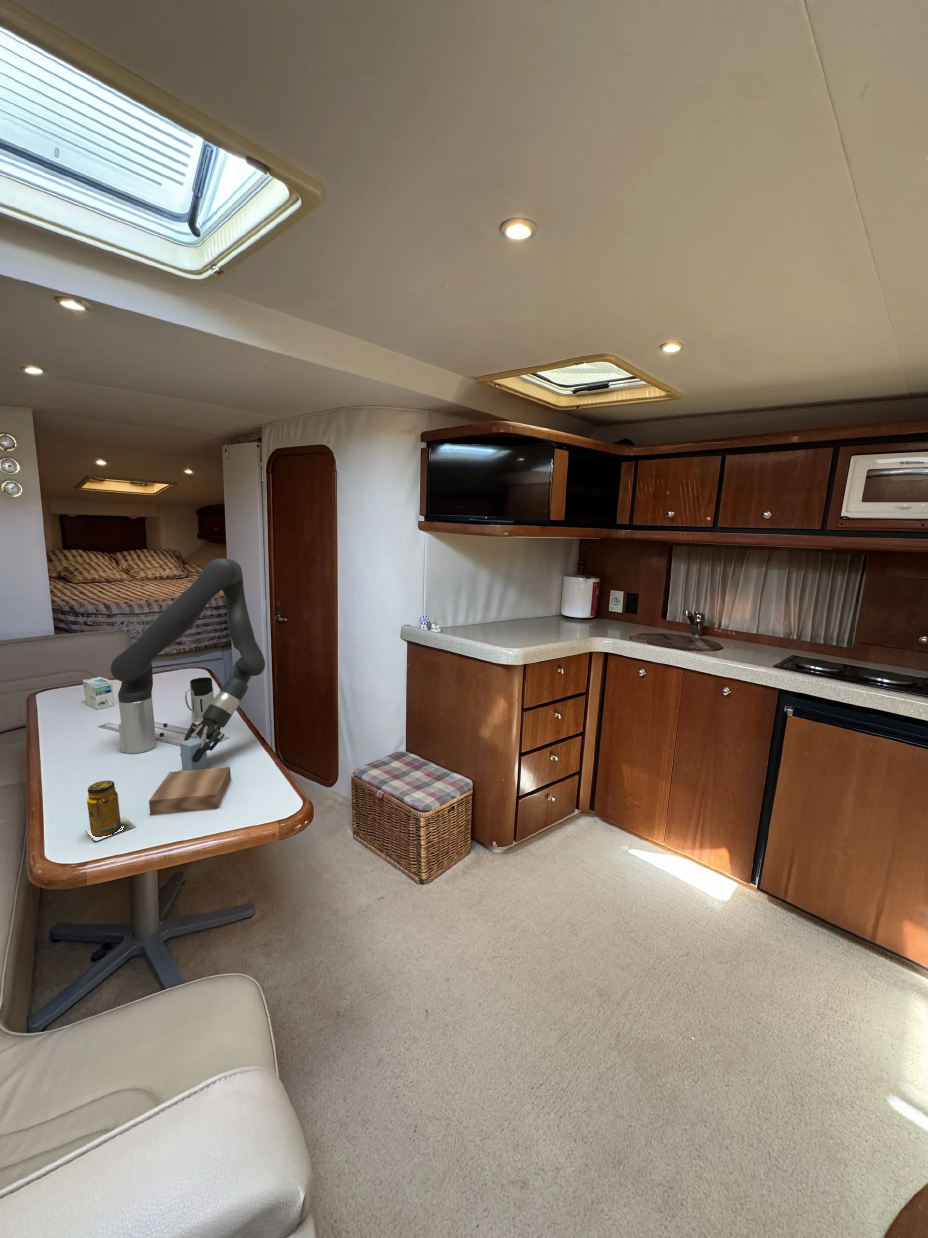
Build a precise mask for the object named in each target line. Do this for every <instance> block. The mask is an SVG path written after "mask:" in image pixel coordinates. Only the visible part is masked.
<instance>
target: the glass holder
mask: <svg viewBox="0 0 928 1238" xmlns="http://www.w3.org/2000/svg"><path fill="white" fill-rule="evenodd" d="M189 686H190V688H188V689H186V691H185V693H184V701H185V704H186V705H185V706H186V707H187V709H188V710H189V711H191V714H192V715H191V721H192V720H193V722H201V721H202V720H203V717H202V715H203V714H204V712H205V711H206V709H207V708H208V706H209V705H210V703H211V702H212V700H213V699H214V697H215V695H214V687H213V679H212V677H207V676H206V677H204V676H203V677H197V678H192V679H190V681H189ZM189 692H190V704H191V706H190V705H189V703H188V693H189Z"/></svg>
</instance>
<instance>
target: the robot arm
mask: <svg viewBox="0 0 928 1238" xmlns="http://www.w3.org/2000/svg"><path fill="white" fill-rule="evenodd" d="M242 570H243V569H242V567H241V565H240V564H239V563H238V562H237V561H235V560H234V559H231V558H222V557H220V558H216V559H213V560H212V561H210V562H209V563H208V564H207V565H206V567H205V568H204V569H203V571H202V572H201V573H200V574H199V575H198V577H196V579H195V580H194V582H193V583H192V584H191V585H190V586H189V587H188V588H186V589H185V590H184V591H183V592H182V593H180V595H179V596H177V598H175V599H174V601H172V602H171V603H170V604H169V605H168V606H167V607H166V608H165V609H164V610H163V611H162V612H161V613H160V614H159V615H158V616H157V617H156V618H155V619H154V621H152V622H151V624H150V625H149V626H148V627H147V628H146V630H145V631H144V632H143V633H142V634H141V636H139V638H138V639H137V640H136V641H135V642H133V643H132V644H131V645H130V646H128V648H126V649H125V650H124V651H122V652H121V653H120V654H118V655H117V656H116V657H115V658H114V659H113V660H112V662H111V664H110V673H111V676H112V677H113V678H114V679H115V680H117V681H120V683H121V684H120V688H119V691H118V693H117V698H118V707H119V717H120V723H119V724H118V733H119V743H120V752H121V753H125V754H140V753H145V752H148V751H151V750H153V749H154V748H156V747H157V736H156V726H155V713H154V705H153V692H152V690H153V686H154V679H153V678H154V677H153V676H154V675H153V674H154V673H153V663H152V661H153V660H154V659H155V658H156V657H157V656H158V655H159V654H160V653H161V652H162V651H164V650H165V649H167V648H168V647H169V646H171V645H172V644H173V643H174V642H176V641H177V640H179V639H180V638H181V637H182V636H183V635H184V634H185V633H187V632H188V630H189V629H190V628H192V626H194V625H195V624H196V623H197V621H198V620H199V619H200V617H201V615H202V614H203V612H204V610H205V608H206V607H207V605H208V604H209V602H210V601H211V600H213V598H214V597H215V596H217V595H218V594H219V593H220V592H221V591H222V592H223V596H224V599H225V605H226V615H227V616H226V617H227V619H226V620H227V627H228V632H229V637H230V639H231V643H232V646H233V647H234V649H235V650H237V651H238V652H239V654H240V657H239V658H238V659H237V661H235V663H234V665H233V666H232V669H231V671H230V672H229V676H228V677H227V681H225V683H224V684H223V686H222V687H221V689H220V690H219V691H218V693H217V694H216V695H214V699H213V700H212V702H211V703H210V705H209V706H208V708H207V709H206V711H205V712H204V714H203V715H202V717H203V720H202V721H199V723H195V722H192V723H191V724H190V727H189V728H188V730H187V732H186V734H185V736H184V738H183V741H186V740H189V739H194V738H200V739H201V742H202V743H201V744H200V747H199V748H200V749H199V748H198V749H197V751H196V752H195V754H194V755H193V757H192V758H191V760H192V761H194V762H198V761H199V760H200V759H201V757H202V756H203V754H204V753H205V751H207V752H208V751H211V752H212V751H213V750H214V749H215V748H216V747H217V745H218V744H219V743H220V742H221V741H222V740H223V738H224V737H225V735H226V734H225V733H223V732H222V731H221V729H222V728H225V727H226V726H227V724H228V722H229V721H230V720H231V718H232V716H233V715H234V713H235V712H236V710H237V709H238V707H239V704H240V702H241V701H242V699H243V698H244V696H245V695H246V693H247V691H248V689H249V687H248V686H249V685H248V682H250V679H251V677H255V676H256V677H257V676H259V675H261V674H263V672H264V670H265V668H266V667H265V666H266V660H265V657H264V654H263V652H262V650H261V649H260V646H259V644H258V643H257V641H256V637H255V633H254V629H253V627H252V624H251V619H250V615H249V611H248V607H247V606H248V605H247V602H246V596H245V589H244V578H243V571H242ZM205 742H206V744H205ZM179 756H180V757H181V753H179Z"/></svg>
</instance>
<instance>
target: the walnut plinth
mask: <svg viewBox="0 0 928 1238" xmlns="http://www.w3.org/2000/svg"><path fill="white" fill-rule="evenodd" d="M231 773H232V772H231V766H225V767H214V768H207V769H199V770H187V771H182V770H178V771H169V773H167V775H166V776H165V778H164V780H162V782H161V783H160V785H159V786H158V788H157V789H156V790H155V791H154V793H153V794H152V795H151V797H150V798H149V800H148V806H149V815H150V816H153V815H164V814H174V813H175V814H176V813H185V812H194V811H195V812H196V811H205V810H214V809H215V810H217V809H219V806H220V805H221V803H222V800H223V798H224V796H225V793H226V791H227V789H228V787H229V785H230V783H231V780H232V774H231Z"/></svg>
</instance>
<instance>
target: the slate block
mask: <svg viewBox="0 0 928 1238" xmlns="http://www.w3.org/2000/svg"><path fill="white" fill-rule="evenodd" d="M201 743H202V742H201V739H200V738H194V739H189V740H186V741H185V740H183V741H181V742H179V747H180V748H179V749H180V754H181V756H180V759H181V769H182V770H181V771H187V770H199V769H209V766H208V764H209V762H208V751H205V753H204V754H203V756H202V757H201V759H200V760H199V761H198V762H194V761H192V760H191V758H192V757H193V755H194V754H195V752H196V751H197V749H198V748H199V747H200V744H201ZM205 744H206V742H205ZM199 749H200V748H199Z"/></svg>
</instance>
